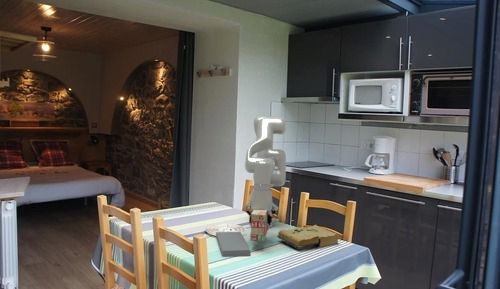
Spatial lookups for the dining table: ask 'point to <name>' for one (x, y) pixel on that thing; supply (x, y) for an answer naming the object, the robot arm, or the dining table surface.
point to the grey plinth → (232, 244)
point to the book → (308, 237)
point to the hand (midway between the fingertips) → (260, 224)
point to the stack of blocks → (259, 225)
